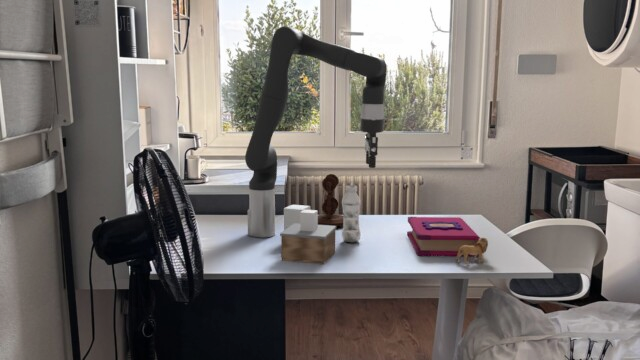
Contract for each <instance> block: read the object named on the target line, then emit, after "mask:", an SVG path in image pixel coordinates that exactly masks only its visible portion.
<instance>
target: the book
mask: <svg viewBox="0 0 640 360" xmlns="http://www.w3.org/2000/svg"><path fill="white" fill-rule="evenodd" d="M407 224H409V226H410V227H411V229H412V230H410V231H406V235H407V237H408V238H409V240H410V243H411V245H412V247H413V249H414V251H415V254H416V255H417V256H419V257H457V255H458V251H459V249H460V247H461V246H463V245H468V246H474V245H476V244H477V242H478V239H480V238H481V237H480V236H479V235H478V234H477V233H476V231H474V229H472V228H471V227H470V225H468V223H467V222H466V221H465V220H464V219H463V218H461V217H458V216H457V217H451V216H449V217H447V216H445V217H441V216H436V217H435V216H433V217H431V216H408V217H407ZM460 257H463V258H464V255H461V256H460ZM470 257H472V258H473V257H474V258H475V255H470V254H468V256H467V258H470ZM477 257H479V255H477Z"/></svg>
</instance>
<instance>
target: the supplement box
mask: <svg viewBox="0 0 640 360" xmlns="http://www.w3.org/2000/svg"><path fill="white" fill-rule="evenodd" d="M303 210H312V209H311V206H310V205H301V204H290V205H288V206H286V207H284V208H283V231H284V230H286V229H287V228H288V227H290V226H291V225H292V224H294V223H300V212H301V211H303Z"/></svg>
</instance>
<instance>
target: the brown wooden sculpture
mask: <svg viewBox="0 0 640 360" xmlns="http://www.w3.org/2000/svg"><path fill="white" fill-rule="evenodd" d="M321 185H322V188H323V194H322V202H321V213H322V214H318V225H330V226H336V227H339V228H340V229H343V220H344V219H343V217H344V216H343V214H337V213H335V212H336V211H337V209H339V201H338V199H336V198H335V197H334V196H335V189H336V188H337V186H338V185H339V178H338V176H337V175H336V174H333V173H332V174H331V173H330V174H328V175H326V176H325V177H324V178H323V180H322V181H321ZM325 193H326V199H325Z"/></svg>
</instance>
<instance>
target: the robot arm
mask: <svg viewBox="0 0 640 360" xmlns="http://www.w3.org/2000/svg"><path fill="white" fill-rule="evenodd" d="M270 46H271V47H270V53H269V60H268V66H267V70H266V75H265V78H264V84H263V88H262V89H261V90H262V91H261V95H260V99H259V104H258V109H257V114H256V116H255V117H256V118H255V120H254V121H255V122H254V126H253V130H252V134H251V137H250V139H249V143H248V146H247V148H246V152H245V157H244V158H245V159H244V160H245V164H246V167H248V169H249V170H251V171H253V174H252V177H251V178H250V180H249V182H248V189H249V190H248V191H249V192H248V196H249V207H248V209H247V236H250V237H253V238H269V237H270V238H271V237H274V236H275V235H276V206H275V205H276V201H275V200H276V199H275V197H276V196H275V195H276V192H275V190H276V189H275V188H276V187H275V185H276V181H277V177H278V156H277V155H278V154H277V152H276V151H277V150H276V149H275V148H274V147H273V146H272V145H271V141H272V139H273V136H274V135H273V134H274V132H275V131H276V129H277V127H278V125H279V123H280V122H281V120H282V118H283V116H284V114H285V111H286V107H287V102H288V100H289V91H290V90H289V89H290V88H289V69H290V68H289V67H290V64H291V59H292V56H293V55H295V56H296V55H297V56H298V55H299V56H306V57H309V58H312V59H313V58H314V59H317V60H319V61H321V62H324V63H325V64H328V65H330V66H333V67H335V68H339V69H342V70H344V71H345V70H346V71H348V72H352V73H354V74H357V75H360V76H362V77H365V78H366V79H365V85H364V87H363V88H362V93H361V94H362V100H361V101H362V102H361V103H362V104H361V109H360V111H361V112H360V131H361V132H362V133H365V137H364V142H365V143H364V150H365V164H366V165H368V168H370V169H374V168H376V165H377V164H376V163H377V156H378V155H379V153H378V149H379V148H378V147H379V146H378V143H379V138H378V136H377V134H378V133H383V132H384V120H385V119H384V116H385V115H384V114H385V109H384V95H385V94H384V93H385V92H384V91H385V85H386V80H387V72H388V70H387V68H388V67H387V64H386V61H385V60H384V59H383V58H382V57H380V56H374V55H370V54H366V53H363V52H358V51H357V50H355V49H352V48H349V47H346V46H342V45H338V44H334V43H330V42H327V41H323V40H319V39H317V38H315V37H313V36H310V35H309V34H306V33H305V32H303V31H301V30H299V29H297V28H295V27H291V26H281V27H278V28H277V29H276V30H275V31H274V33H273V36H272V39H271V45H270Z"/></svg>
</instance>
